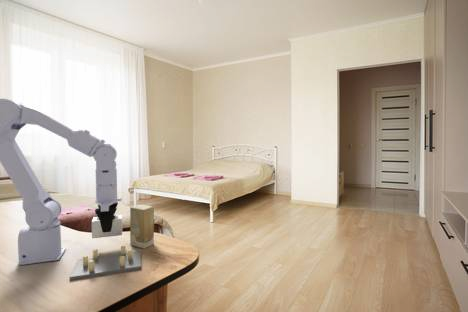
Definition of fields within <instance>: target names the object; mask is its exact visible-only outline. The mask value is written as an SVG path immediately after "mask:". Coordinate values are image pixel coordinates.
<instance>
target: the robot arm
mask: <svg viewBox="0 0 468 312" xmlns="http://www.w3.org/2000/svg"><path fill="white" fill-rule="evenodd" d="M26 125H35V126H39V127H41V128H43V129H45V130H47V131H50V133H53V134H55V135H57V136H59V137H61V138H62V139H65V140H66V141H67V144H68V146H69V147H70V148H72V149H74V150H75V151H77V152H79V153H81V154H84V155H85V156H88V157H89V158H93V159H94V161H95V167H96V168H95V197H96V198H95V203H96V205H97V208H95V210H94V212H95V215H96V217H98V218H99V220H100V224H101V228H102V231H103V233H104V232H111V228H112V222H113V216H115V214H116V211H117V209H118V204H119V203H118V202H121V201H122V197H118V174H117V172H118V170H117V161H116V158H117V153H118V152H117V150H116V148H115V147H114V146H113V145H112V144H111V143H106V140H104V139H100V138H97V137H96V136H94V135H92V134H91V131H90V130H87V129H84V130H83V129H81V128H79V129H75V130H73V129H72V128H70V127H69V126H67V125H65V124H63V123H62V122H60V121H58V120H57V119H55V118H53V117H52V116H50V115H48V114H47V113H44V112H43V111H40V110H38V109H36V108H33V107H30V106H28V105H26V104H24V103H21V102H16V101H13V100H11V99H8V98H0V164H1V165H2V167H3V168H4V171H5V172H6V174H7V175H8V177H9V178H10V180H11V182H12V184H13V185H14V187H15V189H16V190H17V191H18V194H19V196H20V197H21V199H22V209H23V211H24V215H25V218H24V219H25V222H26V224H27V225H28V227H23V228H21V229H20V230H19V233H18V237H17V251H18V252H17V254H18V263H17V265H18V266H23V265H29V264H38V263H45V262H53V261H59V260H60V259H61V257H62V256H63V255H64V252H66V250H67V249H66V247H62V233H61V229H62V228H61V220H59V218H58V217H59V216H60V215H61V213H62V206H61V204H60V203H59V201H58V200H55V199H54V198H53V197H52V195H51V194H50V193H49V192H48V191H46V190H45V189H44V187H43V186H42V184H41V182H40V181H39V179H38V176H37V175H36V174H35V172H34V170H33V169H32V167H31V165H30V163H29V161H28V160H27V158H26V157H25V155H24V153H23V151H22V150H21V148H20V146H19V145H18V143H17V141H16V137H17V135H18V134H19V132H20V131H21V129H22V128H23V127H26Z"/></svg>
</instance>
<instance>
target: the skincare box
mask: <svg viewBox="0 0 468 312" xmlns="http://www.w3.org/2000/svg"><path fill="white" fill-rule="evenodd" d="M129 211H130V212H129V213H130V216H129V217H130V218H129V220H130V221H129V223H130V226H129V227H130V229H129V230H130V231H129V233H130V234H129V239H130V241H129V242H130V243H129V244H130V245H131V246H134V247H138V248H142V249H146V248H149V247H150V246H152V245H154V244H155V240H154V239H155V233H154V232H155V224H154V223H155V206H151V205H145V204H141V203H140V204H138V205H137V204H136V205H134V206H130V207H129Z"/></svg>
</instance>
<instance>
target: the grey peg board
mask: <svg viewBox="0 0 468 312" xmlns="http://www.w3.org/2000/svg"><path fill="white" fill-rule="evenodd" d="M126 247H127V246H126V245H121V246H120V253H115V254H109V255H99V250H98V249H97V248H95V249H92V257H89V255H83V256H82V258H81V259H80V258H79V259H77V260H76V262H75V265H74V267H73V269H72V271H71V273H70V275H69V281H74V280H80V279H86V278H87V279H88V278H93V277H100V276H107V275H112V274H119V273H126V272H131V271H139V270H142V258H141V257H142V254H141V250H138V251H133V249H128V250H127V249H126ZM126 251H127V252H126Z"/></svg>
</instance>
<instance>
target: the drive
mask: <svg viewBox="0 0 468 312" xmlns="http://www.w3.org/2000/svg"><path fill="white" fill-rule="evenodd" d="M122 235H123V214H116V215H115V214H114V216H113V222H112V228H111V232H104V233H103V231H102V228H101V224H100V220H99V218H98V216H93V218H92V219H91V239H100V238H108V237H118V236H122Z"/></svg>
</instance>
